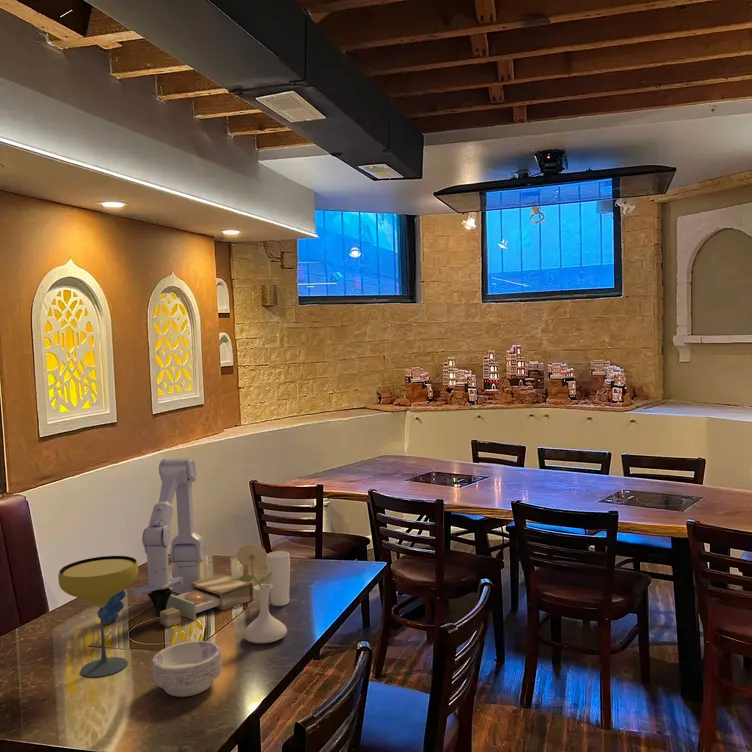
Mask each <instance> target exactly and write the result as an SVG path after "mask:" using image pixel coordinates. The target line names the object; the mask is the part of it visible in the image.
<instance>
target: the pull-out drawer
mask: <svg viewBox="0 0 752 752" xmlns="http://www.w3.org/2000/svg"><path fill="white" fill-rule="evenodd" d="M192 593H201V594H203V602H202V603H200V604H197V605H195V603H193V602H191V601H188V600H185V599H184V597H185V596H186V595H188V594H192ZM219 605H220V598H217V597H215V596H212V595H209V594H206V593H203V592H200V591H197V590H194V591H191V592H188V593H185V594H181V595H180V594H178V595H174V594H172V593H171V595H170V597H169V599H168V602H167V606H166V610H167V609H170V608H175V609H178V610H180V614H181V617H182V616H183V617H184V618H187V619H190V620H192V621H195V620H197V614H198V613H201V612H203V611H206V610H210V609H213V608H214V607H216V606H219Z"/></svg>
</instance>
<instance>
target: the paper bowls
mask: <svg viewBox="0 0 752 752" xmlns="http://www.w3.org/2000/svg"><path fill="white" fill-rule="evenodd" d="M222 655H223V654H222V650H221V647H220V645H219V644H218V643H215V642H212V641H206V640H194V641H193V640H192V641H185V642H181V643H175V644H173V645H170V646H168V647H165V648H163V649H161V650H160V651H158V652H156V653H155V655H154V656H153V657H152V660H151V666H152V667H151V669H152V671H151V672H152V679H153V683H154V685H156V686H157V687H159V688H161V689H163V691H165V693H167V694H168V695H170V696H173V697H180V698H183V697H185V698H186V697H190V696H197V695H199V694H201V693H202V692H205V691H206V690H208V689H209V688H210V687H211V686H212V684H213V682H214V680H215V679H216V678H218V676H219V675H221V673H222V671H223V659H222Z"/></svg>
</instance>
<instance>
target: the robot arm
mask: <svg viewBox="0 0 752 752" xmlns="http://www.w3.org/2000/svg"><path fill="white" fill-rule="evenodd" d="M158 474H159V477H160V480H161V489H160V494H159V501H158V503H155V504H154V505H153V508H152V512H151V516H150V519H149V522H148V526H147V527H146V528H145V529H143V532H142V538H141V539H142V540H141V541H142V545H143V547H144V553H145V554H146V563H147V564H146V565H147V566H146V567H147V582H148V583H146V584H144V585H143V586H140V587H138V588H135V589H133V596H134V598H137V599H138V598H141V597H142V596H145V595H147V596H148V597H149V599H150V601H151V603H152V604H153V607H154V610H155V613H156V614H155V615H156V616H157V617H158V618H159V617H160V611H163V610H167V609H166V606H167V602H168V599H169V597H170V595H171V594H172V593H174V594H178V595H181V594H185V593H188V592H191V583H192V582H195V581H198V580H202V574H201V572H202V571H201V564H202V562H203V561H204V560H205V557H206V546H205V543H204V537H203V536H202V535H200V534H199V533H197V532H195V526H194V508H193V491H192V485H193V484H192V483H193V482H196V480H197V470H196V463H195V460H194V459H193V458H192V457H186V458H162V459H161V461H160V462H159V465H158ZM174 497H176V498H175V499H176V514H177V516H176V517H177V530H178V531H177V535H176V536H175V537H173V538H172V540H171V529H172V528H171V522H172V518H173V514H174V507H173V506H172V503H173V500H174ZM170 541H171V543H170ZM169 544H171V545H170V547H171V548H170V555H169V554H168V553H169V552H168V545H169ZM169 556H170V560H171V562H172V563H174V565H173V567H172V569H171V578H170V569H169Z"/></svg>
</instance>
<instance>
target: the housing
mask: <svg viewBox="0 0 752 752" xmlns="http://www.w3.org/2000/svg"><path fill="white" fill-rule="evenodd" d="M238 580H239V578H237V577H232V576H231V575H230V576H229V575H227V574H223V573H217V574H216V575H211V576H209V577H205V578H201V580H198V581H195V582H192V583H191V591H194V590H197V591H200V592H203V593H206V594H209V595H212V596H215V597H217V598H220V605H219V606H216V607H215V609H217V608H218V609H217V610H220V609H221V610H220V611H223V610H224V611H226V610H229V609H231V608H230V607H232V608H235V607H237V605H238V606H240V605H239V604H241V605H243V603H244V604H247V603H250V602H251V601H254V589H253V587H254V586H253V582H251V581H250V582H246V581H238ZM249 601H250V602H249ZM246 602H247V603H246ZM234 606H235V607H234ZM228 608H229V609H228ZM225 609H226V610H225Z"/></svg>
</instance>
